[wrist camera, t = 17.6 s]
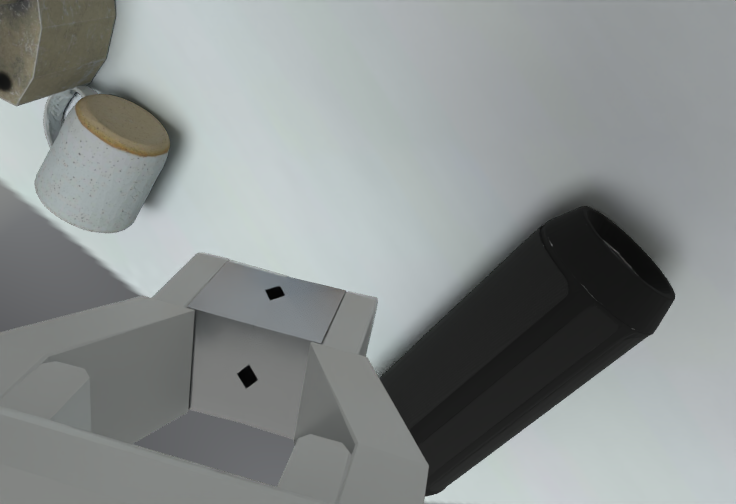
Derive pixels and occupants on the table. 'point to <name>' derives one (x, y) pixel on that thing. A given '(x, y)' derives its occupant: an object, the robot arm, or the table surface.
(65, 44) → the padlock
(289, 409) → the robot arm
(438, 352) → the portable speaker
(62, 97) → the ceramic mug
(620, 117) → the table surface
